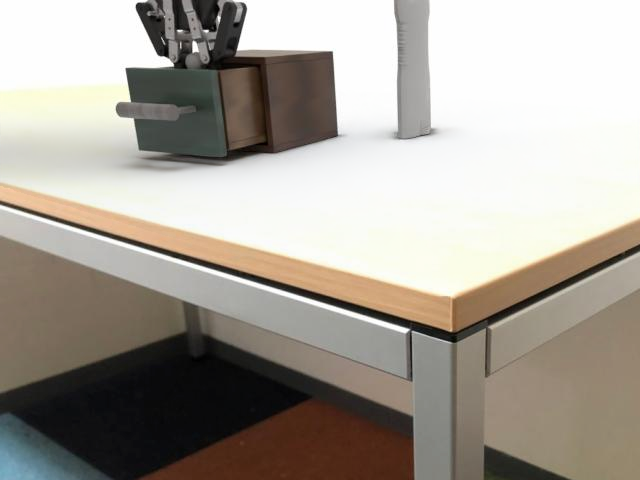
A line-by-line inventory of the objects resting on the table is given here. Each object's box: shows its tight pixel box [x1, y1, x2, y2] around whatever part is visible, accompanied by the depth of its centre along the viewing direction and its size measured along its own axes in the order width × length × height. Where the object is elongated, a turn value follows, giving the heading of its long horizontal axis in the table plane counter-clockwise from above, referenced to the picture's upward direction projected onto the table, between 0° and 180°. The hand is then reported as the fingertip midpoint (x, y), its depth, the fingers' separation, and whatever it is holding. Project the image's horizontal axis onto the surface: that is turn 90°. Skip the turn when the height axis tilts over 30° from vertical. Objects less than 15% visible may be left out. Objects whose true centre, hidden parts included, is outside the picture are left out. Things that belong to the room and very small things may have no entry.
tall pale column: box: [393, 0, 432, 140], centre depth 97 cm, size 11×4×22 cm, turn 162°
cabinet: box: [222, 49, 339, 154], centre depth 94 cm, size 15×13×11 cm
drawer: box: [115, 63, 268, 158], centre depth 84 cm, size 18×11×9 cm, turn 157°
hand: (201, 97), depth 84 cm, fingers closed on chess piece, 3 cm apart
